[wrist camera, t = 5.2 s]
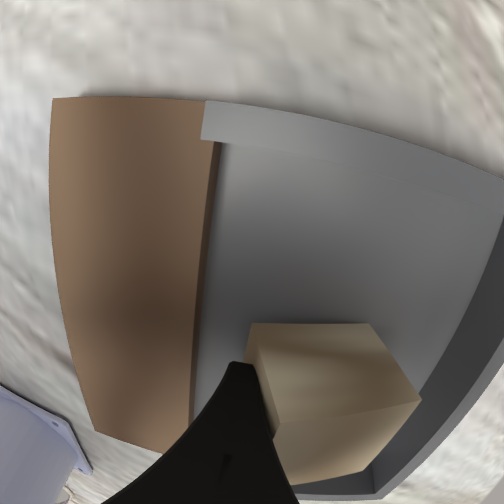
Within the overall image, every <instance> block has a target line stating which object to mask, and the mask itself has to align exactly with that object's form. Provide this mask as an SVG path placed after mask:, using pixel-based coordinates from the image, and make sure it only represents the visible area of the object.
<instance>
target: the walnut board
mask: <svg viewBox="0 0 504 504" xmlns="http://www.w3.org/2000/svg"><path fill="white" fill-rule="evenodd" d="M205 103H206V102H204V101H194V100H182V99H168V98H150V97H70V98H53V101H52V111H51V124H50V142H49V204H50V222H51V235H52V246H53V255H54V264H55V272H56V279H57V286H58V292H59V298H60V304H61V309H62V314H63V319H64V324H65V329H66V334H67V338H68V342H69V347H70V351H71V355H72V359H73V363H74V366H75V370H76V374H77V377H78V381H79V384H80V387H81V391H82V394H83V397H84V400H85V403H86V406H87V409H88V412H89V415H90V418H91V421H92V424H93V426H94V429H95V431H97V432H100V433H102V434H105V435H108V436H110V437H113V438H116V439H118V440H121V441H124V442H127V443H130V444H133V445H136V446H139V447H142V448H145V449H148V450H151V451H155V452H158V453H162V454H164V453H165V452H166V451H167V450H168V449H169V448H170V447H171V446H172V445H173V444H174V443H175V442H176V441H177V440H178V439H179V438H180V437H181V435H182V434H183V433H184V432H185V431H186V430H187V428H188V427H189V426H190V425H191V423H192V422H193V417H194V401H195V386H196V372H197V359H198V347H199V335H200V323H201V313H202V302H203V292H204V282H205V273H206V264H207V255H208V246H209V237H210V229H211V221H212V213H213V205H214V197H215V190H216V182H217V175H218V168H219V161H220V154H221V147H222V142H216V141H209V140H201V139H200V137H201V130H202V123H203V116H204V110H205Z"/></svg>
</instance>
